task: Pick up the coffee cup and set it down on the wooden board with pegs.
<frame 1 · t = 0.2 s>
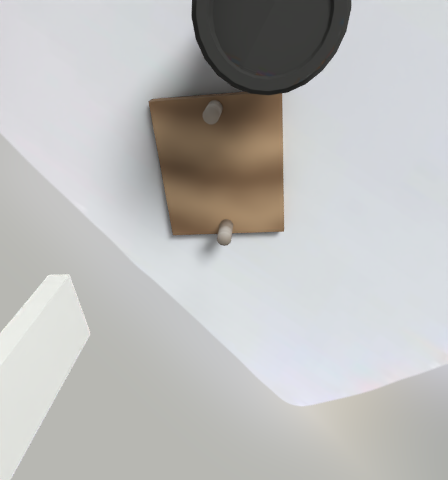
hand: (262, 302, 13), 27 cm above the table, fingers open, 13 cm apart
wooden board with pegs: (222, 167, 38), on the table
coffee cup: (268, 12, 32), on the table
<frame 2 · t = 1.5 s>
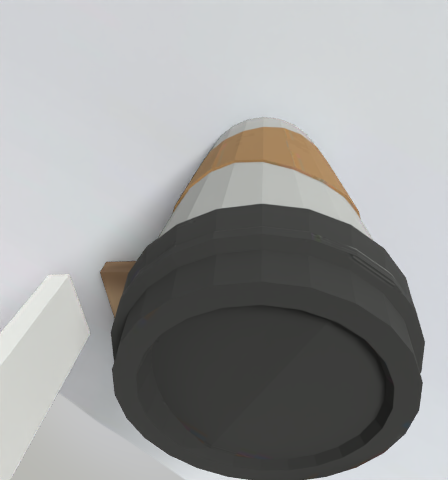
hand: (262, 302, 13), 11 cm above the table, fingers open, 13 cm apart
wooden board with pegs: (204, 335, 29), on the table
coffee cup: (263, 169, 22), on the table
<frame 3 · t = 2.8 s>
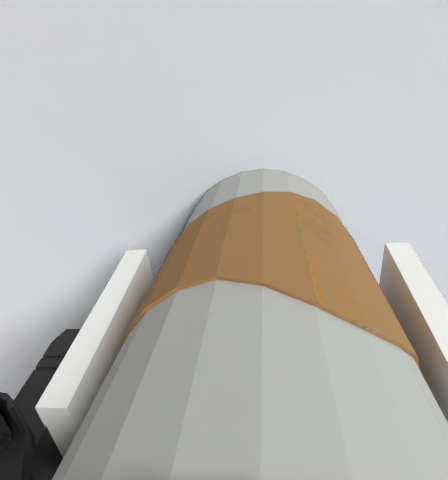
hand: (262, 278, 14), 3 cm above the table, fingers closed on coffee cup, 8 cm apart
coffee cup: (263, 230, 17), on the table, touching gripper
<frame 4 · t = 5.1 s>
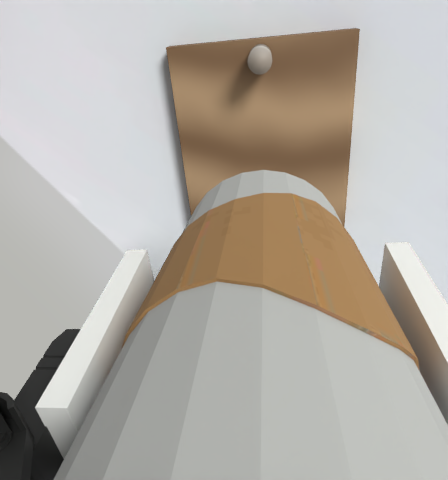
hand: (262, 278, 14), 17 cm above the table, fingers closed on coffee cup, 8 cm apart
wooden board with pegs: (264, 143, 28), on the table
coffee cup: (263, 231, 17), point 13 cm above the table, touching gripper
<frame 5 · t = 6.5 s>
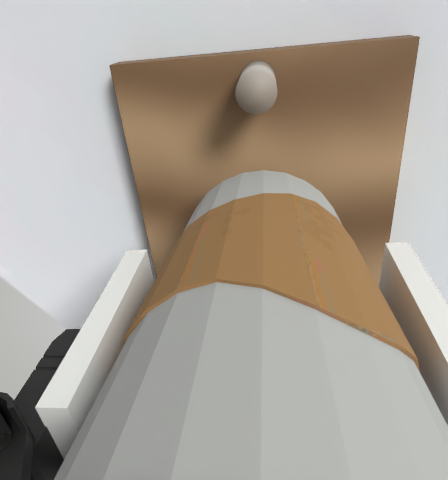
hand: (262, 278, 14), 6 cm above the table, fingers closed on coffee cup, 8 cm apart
wooden board with pegs: (263, 202, 19), on the table
coffee cup: (263, 231, 17), point 3 cm above the table, touching gripper
when the fingers open (5 cm above the table, at t = 7.6 s): coffee cup stays where it is, resting on wooden board with pegs.
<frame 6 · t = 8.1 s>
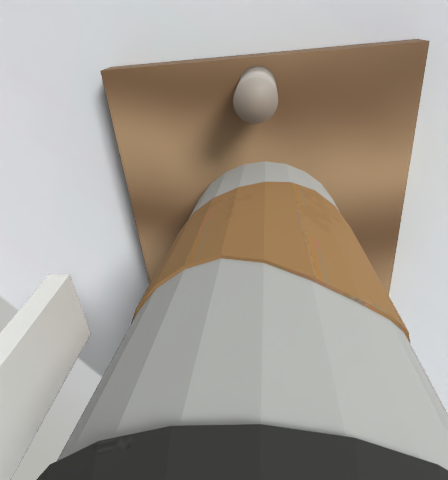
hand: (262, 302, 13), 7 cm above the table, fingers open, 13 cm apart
wooden board with pegs: (263, 213, 19), on the table
coffee cup: (264, 222, 18), point 1 cm above the table, touching wooden board with pegs
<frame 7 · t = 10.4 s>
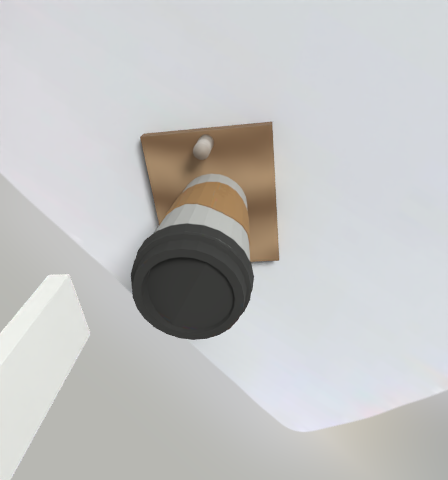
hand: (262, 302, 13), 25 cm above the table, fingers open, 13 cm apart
wooden board with pegs: (215, 198, 39), on the table
coffee cup: (215, 201, 38), point 1 cm above the table, touching wooden board with pegs
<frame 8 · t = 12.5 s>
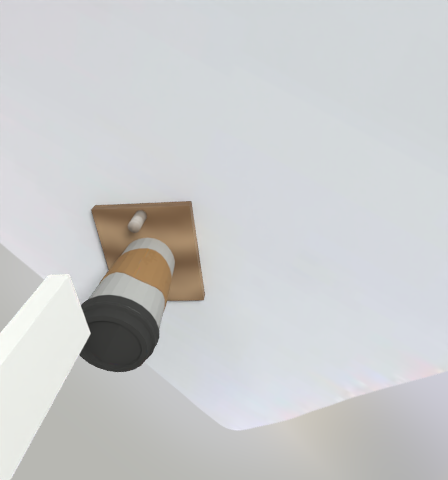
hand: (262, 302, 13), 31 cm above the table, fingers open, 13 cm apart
wooden board with pegs: (152, 252, 49), on the table
coffee cup: (151, 256, 49), point 1 cm above the table, touching wooden board with pegs
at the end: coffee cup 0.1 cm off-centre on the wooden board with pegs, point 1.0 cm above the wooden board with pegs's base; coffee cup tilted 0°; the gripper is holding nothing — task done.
